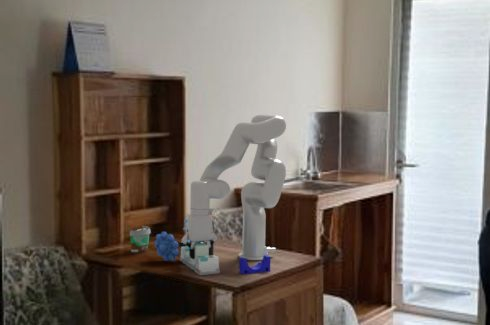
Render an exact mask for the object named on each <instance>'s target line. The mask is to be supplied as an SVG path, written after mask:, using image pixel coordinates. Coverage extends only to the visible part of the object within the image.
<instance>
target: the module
mask: <svg viewBox="0 0 490 325" xmlns="http://www.w3.org/2000/svg"><path fill="white" fill-rule="evenodd" d="M194 249H195V259H192V258H191V261H193V262H194V263H196V257H197V256H209V245H207V244H205V243H204V242H199V241H197V242H195V244H194Z"/></svg>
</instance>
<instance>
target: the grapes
mask: <svg viewBox="0 0 490 325" xmlns="http://www.w3.org/2000/svg"><path fill="white" fill-rule="evenodd" d="M155 238H156V240H155V241H154V243H153V245H154V247H155V248H156V254H157V255H158V256H160V257H161V258H162V259H163V261H165V262H168V261H169V260H170V261H171V262H174V261H176V257H178V256H179V255H180V251H179V250H178V248H179V243H178V241H176V240H175V236H174V235H173V234H171V233H169V234H168V232H166V231H161V233H157V234H156V236H155Z"/></svg>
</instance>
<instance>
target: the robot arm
mask: <svg viewBox="0 0 490 325" xmlns="http://www.w3.org/2000/svg"><path fill="white" fill-rule="evenodd" d="M286 129H287V123H286V121H285V118H284V117H282V116H279V115H274V114H273V115H270V114H257V115H255V116H253V117H252V118H251V122H238V123H237V124H236V125H235V126H234V128H233V130H232V132H231V134H230V135H229V138H228V139H227V142H226V144H225V146H224V148H223V150H222V151H221V153H220V154H219V155H217V157H215V158H214V159H213V160H212V161H211V162H210V163H209V164H208V165H207V166H206V168H205V169H204V171H203V173H202V175H201V176H200V178H199V180H193V181H192V182H190V210H189V212H190V213H189V214H190V215H188V216H187V218H188V219H187V218H186V219H187V226H186V230H185V234H184V236H183V237H182V238H181V241H182V242H183V243H185V244H184V245H186V246H188V247H189V256H190V257H191V258H192V259H195V249H194V244H195V242H197V241H205V244H207V245H209V255H210V247H211V245H212V244H213V243H215V242H216V241H217V240H218V239H219V238H218V236H217V234H215V233H213V225H212V220H213V219H212V215H210V213H211V212H212V213H213V212H214V209H213V208H211V206H210V205H211V204H210V203H211V199H216V200H217V199H218V200H221V199H225V198H227V196H228V195H229V194H230V192H231V188H230V185H229V183H228V182H227V181H224V180H223V179H218V178H219V177H220V175H222V173H224V172H225V171H226V170H228V169H230V168H233V167H235V166H237V165H239V164H240V163H241V162H242V161H243V158H244V157H245V154H246V152H247V150H248V148H249V146H250V145H256V146H257V147H256V151H255V154H254V158H253V162H252V165H251V169H250V173H251V176H252V177H253V178H254V179H255V180H259V181H264V182H263V183H262V182H256V181H255V182H253V181H252V182H251V181H250V182H248V183H246V184H244V185H243V187H242V189H241V190H240V191H241V192H240V197H241V205H242V249H241V250H242V251H241V252H239V253H238V258H241V257H243V258H245V259H247V261H262V260H263V255H268V256H269V254H270V253H275V252H276V251H277V249H276V247H270V246H266V226H267V225H266V222H267V221H266V220H267V219H266V217H267V215H266V211H265V209H273V208H274V207H276V205H277V204H278V202H279V200H280V198H281V194H282V191H283V188H284V184H285V181H286V176H287V169H286V166H285V164H284V162H282V161H281V160H280V159H277V158H276V157H277V152H278V141H277V138H280V137H281V136H282V135H284V133H285V131H286ZM188 240H189V241H190V242H187V241H188ZM209 240H210V241H209ZM181 241H180V242H181Z"/></svg>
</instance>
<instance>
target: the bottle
mask: <svg viewBox="0 0 490 325" xmlns="http://www.w3.org/2000/svg"><path fill="white" fill-rule="evenodd" d="M210 215H211V216H212V215H213V212H211V213H210ZM212 225H213V233H214V232H215V227H214V226H215V221H214V219H212ZM214 234H215V233H214ZM209 241H210V240H209ZM199 242H204V243H205V241H199ZM214 243H215V242H214ZM214 243H213V244H212V245H211V247H210V255H209V256H211V255H214Z"/></svg>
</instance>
